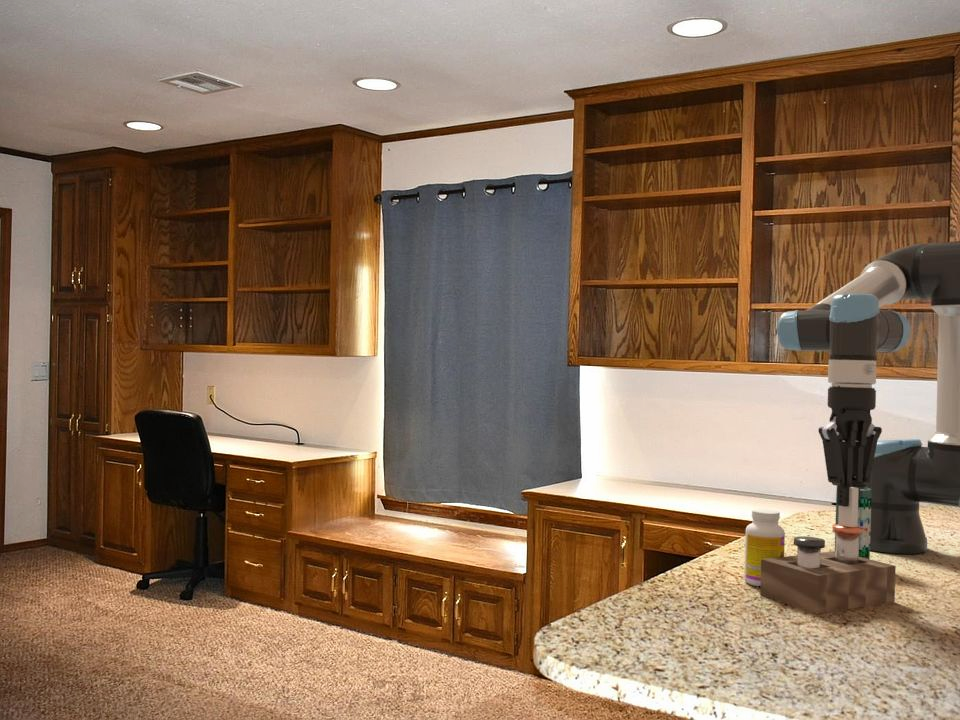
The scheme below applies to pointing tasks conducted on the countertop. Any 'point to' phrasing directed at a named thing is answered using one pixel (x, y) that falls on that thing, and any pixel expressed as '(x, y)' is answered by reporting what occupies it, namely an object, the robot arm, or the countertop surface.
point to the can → (862, 521)
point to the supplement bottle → (762, 542)
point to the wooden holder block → (828, 583)
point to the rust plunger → (847, 543)
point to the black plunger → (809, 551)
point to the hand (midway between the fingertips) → (847, 525)
